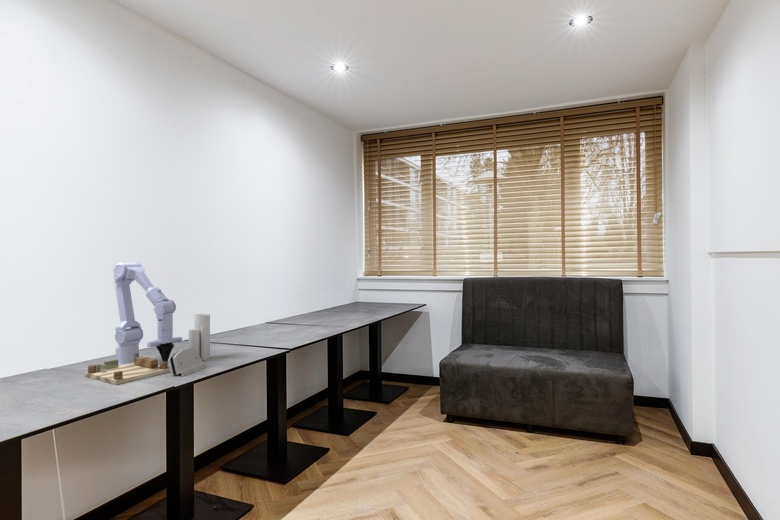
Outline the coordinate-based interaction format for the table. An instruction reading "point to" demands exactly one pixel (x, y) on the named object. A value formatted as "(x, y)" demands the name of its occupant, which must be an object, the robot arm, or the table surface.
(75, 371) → the table surface
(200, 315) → the vase
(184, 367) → the grey rounded block
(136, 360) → the folding leg
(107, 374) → the board
